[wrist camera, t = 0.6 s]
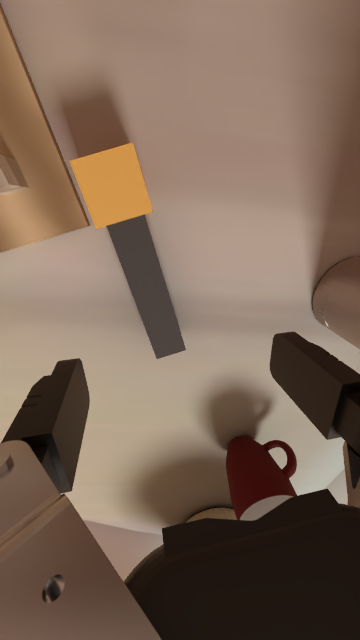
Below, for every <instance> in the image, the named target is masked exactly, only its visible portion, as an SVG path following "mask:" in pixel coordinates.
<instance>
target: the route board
mask: <svg viewBox="0 0 360 640" xmlns="http://www.w3.org/2000/svg"><path fill="white" fill-rule="evenodd" d="M87 226H90V224H89V221H88V219H87V216H86V214H85V211H84V209H83V206H82V204H81V201H80V199H79V197H78V194H77V192H76V189H75V187H74V184H73V182H72V179H71V177H70V174H69V172H68V169H67V167H66V164H65V162H64V160H63V157H62V155H61V152H60V150H59V147H58V145H57V142H56V140H55V137H54V135H53V132H52V130H51V128H50V125H49V123H48V120H47V118H46V115H45V113H44V110H43V108H42V105H41V103H40V100H39V98H38V96H37V93H36V91H35V88H34V86H33V83H32V81H31V78H30V76H29V73H28V71H27V68H26V66H25V63H24V61H23V59H22V56H21V54H20V51H19V49H18V46H17V44H16V41H15V39H14V36H13V34H12V31H11V29H10V27H9V24H8V22H7V19H6V17H5V14H4V12H3V9H2V7H1V4H0V252H4V251H7V250H10V249H14V248H17V247H20V246H24V245H27V244H30V243H34V242H37V241H40V240H44V239H47V238H50V237H54V236H57V235H60V234H64V233H67V232H70V231H74V230H77V229H80V228H84V227H87Z"/></svg>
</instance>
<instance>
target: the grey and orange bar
mask: <svg viewBox="0 0 360 640" xmlns="http://www.w3.org/2000/svg"><path fill="white" fill-rule="evenodd" d="M69 162H70V164H71V167H72V169H73V172H74V174H75V177H76V179H77V182H78V185H79V187H80V190H81V192H82V195H83V197H84V200H85V202H86V205H87V207H88V210H89V212H90V215H91V217H92V220H93V222H94V225H95V227H96V229H97V228H101V227H104V226H107V228H108V231H109V234H110V236H111V239H112V242H113V244H114V247H115V249H116V252H117V255H118V257H119V260H120V263H121V265H122V268H123V271H124V273H125V276H126V279H127V281H128V284H129V286H130V289H131V292H132V294H133V297H134V300H135V302H136V305H137V308H138V310H139V313H140V316H141V318H142V321H143V324H144V326H145V329H146V331H147V334H148V337H149V339H150V342H151V345H152V347H153V350H154V353H155V355H156V358H157V359H159V358H162V357H165V356H168V355H171V354H175V353H178V352H181V351H184V350H186V349H185V345H184V342H183V339H182V336H181V332H180V329H179V326H178V323H177V319H176V316H175V313H174V310H173V306H172V303H171V300H170V297H169V293H168V290H167V287H166V284H165V280H164V277H163V274H162V271H161V267H160V264H159V261H158V258H157V254H156V251H155V248H154V244H153V241H152V238H151V235H150V231H149V228H148V225H147V222H146V218H145V215H144V214H147V213H151V212H153V210H152V207H151V203H150V200H149V197H148V193H147V190H146V186H145V183H144V179H143V176H142V172H141V169H140V166H139V162H138V159H137V155H136V152H135V148H134V145H133V142H132V143H129V144H126V145H122V146H119V147H115V148H112V149H109V150H105V151H102V152H98V153H95V154H92V155H88V156H85V157H82V158H78V159H75V160H71V161H69Z"/></svg>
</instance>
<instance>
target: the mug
mask: <svg viewBox="0 0 360 640" xmlns="http://www.w3.org/2000/svg"><path fill="white" fill-rule="evenodd" d="M275 447H281V448H282V449H284V451H285V452H286V454H287V465H286V466H285V467H284V468H283V469H282V470H281V468H280V467H279V466H278V465H277V463H276V462H275V461H274V459H273V458H272V457H271V455H270V454H269V452H268V450H270V449H272V448H275ZM296 466H297V461H296V456H295V454H294V452H293V450H292V449H291V447H290V446H289V445H288V444H286V443H285V442H283V441H280V440H273V441H270V442H267V443H266V444H264V445H261V444H259V443H258V442H256V441H255V440H253V439H252V438H250V437H248V436H240V437H237V438H235V439H233V440H232V441H231V442H230V444H229V446H228V451H227V458H226V469H227V476H228V482H229V489H230V495H231V501H232V505H233V509H234V512H235V515H236V518H237V520H247V521H253V520H256V519H258V518H260V517H262V516H263V515H265V514H266V513H268V512H269V511H271V510H272V509H274V508H275V507H277V506H278V505H280V504H281V503H283V502H284V501H286V500H287V499H289V498H291V497H295V496H297V494H296V492H295V490H294V488H293V486H292V484H291V482H290V480H289V478H290V477H291V476H292V475H293V474H294V473H295V471H296Z"/></svg>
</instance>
